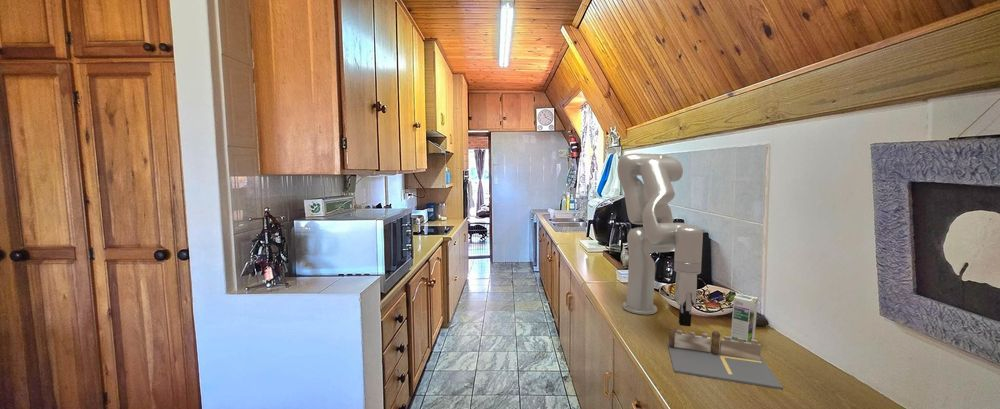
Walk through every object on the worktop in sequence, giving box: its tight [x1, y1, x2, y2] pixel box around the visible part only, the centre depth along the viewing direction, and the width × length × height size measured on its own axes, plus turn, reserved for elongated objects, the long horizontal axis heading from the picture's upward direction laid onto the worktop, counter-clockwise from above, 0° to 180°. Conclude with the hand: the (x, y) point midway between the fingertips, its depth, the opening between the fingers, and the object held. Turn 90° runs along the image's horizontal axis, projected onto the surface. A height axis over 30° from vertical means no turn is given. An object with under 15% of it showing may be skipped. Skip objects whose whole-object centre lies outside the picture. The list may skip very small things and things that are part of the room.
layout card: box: [666, 340, 784, 390], centre depth 110 cm, size 18×25×1 cm
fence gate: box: [668, 328, 712, 352], centre depth 116 cm, size 11×2×5 cm, turn 73°
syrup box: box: [729, 293, 759, 343], centre depth 123 cm, size 6×6×14 cm
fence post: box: [710, 330, 762, 361], centre depth 113 cm, size 2×12×7 cm, turn 73°
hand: (684, 324), depth 121 cm, fingers closed
